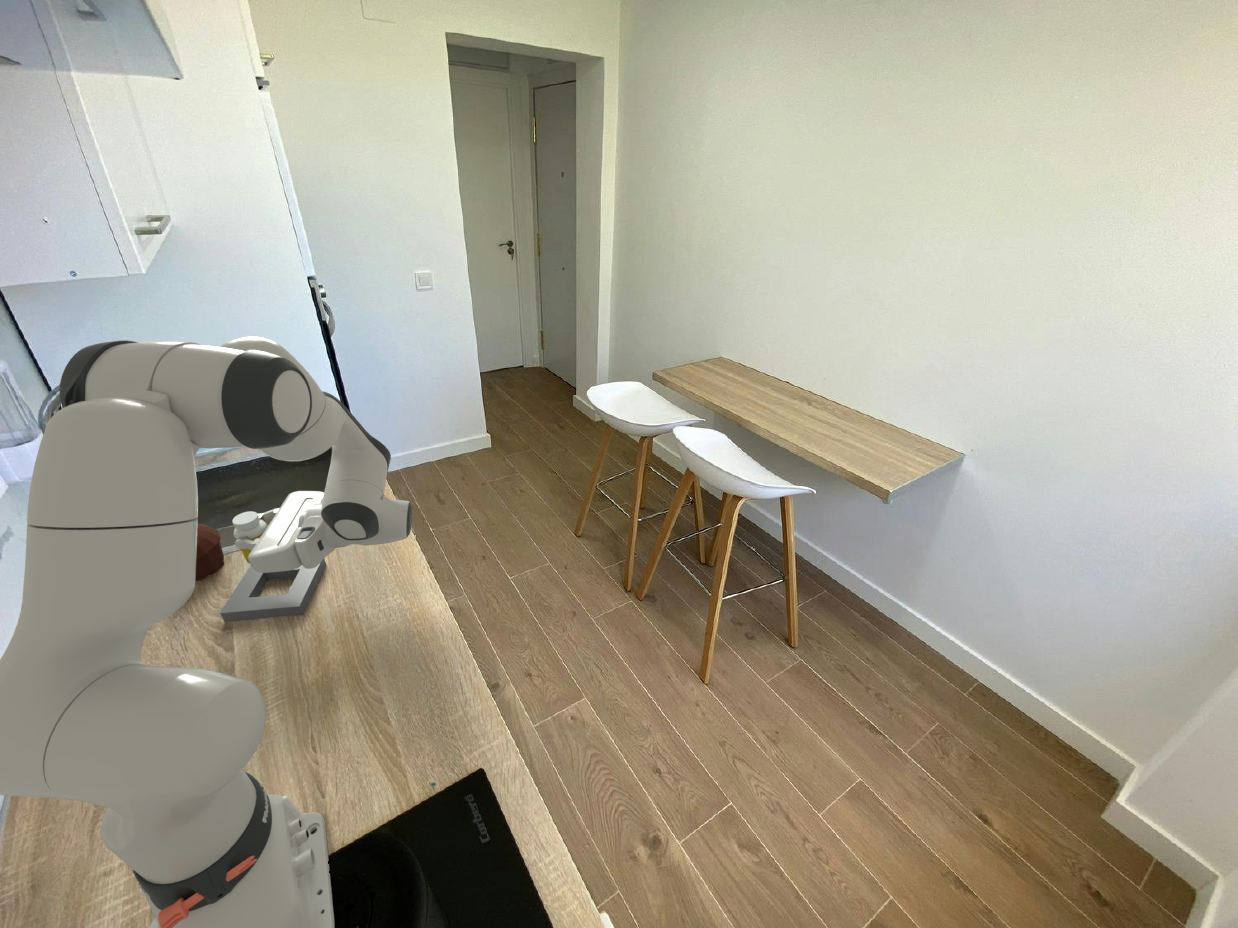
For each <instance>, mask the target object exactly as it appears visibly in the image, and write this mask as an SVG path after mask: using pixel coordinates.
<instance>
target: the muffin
mask: <svg viewBox="0 0 1238 928" xmlns="http://www.w3.org/2000/svg"><path fill="white" fill-rule="evenodd" d="M224 558H225V556H224V552H223V549H222V543H221V534H220V531H219V530H218V529H215V528H213V527H211V526H208V525H206V524H203V523H198V525H197V552H196V575H195V582H198V581H199V582H200V581H203V580H204V579H207V578H208V577H210V576H213V575H216V573H217V572H219V570H220V569H221V568H222V567H223V566H224V565H225V561H224Z"/></svg>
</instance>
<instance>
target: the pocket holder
mask: <svg viewBox="0 0 1238 928" xmlns="http://www.w3.org/2000/svg"><path fill="white" fill-rule="evenodd" d="M326 567H327V562H326V559H325V558H324V559H323V560H322V561H321V562H320V563H319V565H318V566H316V567H315V568H311V569H306V568H304V566H303V564H302V565H301V566H300V567H298V568H296V569H293V570H289V571H281V572H270V573H259V572H257V571H255V570H254V569H253V568H252V566H251V564H249V567H248V569H247V570H246V572H245V573H244V574H243V576H242V578H241V580H240V581H239V582H238V583H237V586H236V587H235V589H234V590H233V592H232V593H231V595H230V597H229V598H228V600H227V601H226V603H225V604H224V606H223V607H222V609H221V610H220V612H219V614H220V616H221V618H222V620H223V622H224V623H229V622H239V621H241V622H242V621H250V620H251V621H252V620H261V619H262V620H263V619H271V618H272V619H274V618H284V617H286V618H287V617H295V616H296V617H298V616H303V615H304V614H305V612H306V610H307V608H308V606H309V604H310V601H311V599H312V597H313V595H314V594H315V593H314V592H315V591H316V589H317V587H318V584H319V582H320V580H321V578H322V576H323V573H324V571H325V569H326ZM292 579H294V580H293V582H292V584H291V586H290V588H289V590H288V592H287V594H277V595H275V594H274V595H265V596H264V595H262V596H260V595H261V593H262V591H263V590H264V588H265V586H266V585H267V583H268V582H270V581H278V580H279V581H280V580H281V581H282V580H292Z"/></svg>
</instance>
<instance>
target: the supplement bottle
mask: <svg viewBox="0 0 1238 928" xmlns="http://www.w3.org/2000/svg"><path fill="white" fill-rule="evenodd" d="M232 524H233V527H234V530H233V537H234V539H235V541H236V540H237V539H238V537H244V536H248V537H249V540H252V541H254V540H255V539H260V537H261V536H262V534H263V533H264V531H265V530H266V528H267V527H268V524H267V522H264V521H262V520H260V518H259V516H258V512H256V511H244V512H241V513H239V514H237V515H235V516H234V517H233V519H232ZM240 551H241V553H242V555H243V557H244V559H245V560H246V562H247V564H249V565H251V564H250V562H249V559H248V556H249V554H250V553H251V550H249V549H240Z"/></svg>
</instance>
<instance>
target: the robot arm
mask: <svg viewBox="0 0 1238 928" xmlns="http://www.w3.org/2000/svg"><path fill="white" fill-rule="evenodd" d="M61 374H62V375H61V376H60V377H61V378H60V382H59V400H60V404H61V409H59V410H58V411H56V412H55V413H54V414H53V415H52V416H51V418H49V420H48V422H47V424H46V426H45V429H44V431H43V435H42V438H41V440H40V444H39V447H38V451H37V454H36V458H35V461H34V466H33V470H32V471H33V472H32V476H31V482H30V486H29V494H28V501H27V502H28V503H27V504H28V505H27V515H26V540H25V541H26V542H25V545H26V546H25V562H24V563H25V564H24V574H23V587H22V588H23V589H22V597H21V598H22V600H21V606H20V611H19V612H20V613H19V617H18V620H17V624H16V626H15V629H14V632H13V635H12V637H11V638H10V640H9V643H8V644H7V646H6V649H5V651H4V653H3V654H2V656H1V658H0V796H9V797H10V796H11V797H27V798H28V797H29V798H45V799H58V800H59V799H60V800H66V801H72V802H80V803H87V804H91V805H94V806H95V805H96V806H99V807H102V808H104V807H105V808H106V810H105V813H104V816H103V819H102V823H101V829H100V831H101V838H102V842H103V844H104V846H105V847H106V848H107V849H108V850H109V851H110V852H112V853H113V854H114V855H115V856H116V857H117V858H118V859H120V860H121V861H122V862H123V863H125V864H126V865H127V866H128V867H130V868H131V869H132V872H133V875H134V877H135V878H136V881H137V883H138V885H139V887H140V889H139V894H140V895H142V896H143V897H144V898H146V900H147V903H148V905H149V907H150V910H151V912H152V914H153V916H154V919H153V920H152V922H151V923H150V925H149V927H148V928H335V913H334V906H333V905H334V904H333V893H332V892H333V891H332V885H331V884H332V882H331V874H330V873H329V871H330V863H329V864H328V861H329V851H328V841H327V832H326V831H327V830H326V820H325V817H324V816H323V815H322V814H321V813H320V812H316V811H314V812H313V811H312V812H302V811H301V810H300V809H299V808H298V806H297V805H296V804H295V803H294V802H293V800H292V799H291V798H290V797H289V796H287V795H283V794H282V795H281V794H274V793H273V794H272V793H267V792H266V790H265V788H264V786H263V784H262V783H261V782H260V781H259V780H258V779H257V778H255V777H254V775H252V774H251V773H249V772H247V771H245V767H246V766H247V765H248V764H249V762H250V761H251V760H252V758H253V756H254V755H255V753H256V751H257V750H258V747H259V746H260V743H261V741H262V739H263V735H264V733H265V732H264V731H265V727H266V721H267V709H266V707H267V706H266V703H265V699H264V696H263V693H262V691H261V689H260V688H259V687H258V686H257V685H256V684H255V683H254V682H251V681H249V680H246V679H243V678H239V677H236V676H234V675H230V674H226V673H223V672H220V671H215V670H212V669H206V668H198V667H197V668H195V667H182V666H181V667H179V666H161V665H160V666H159V665H148V664H147V665H146V664H144V662H143V660H142V647H143V644H144V641H145V637H146V634H147V633H148V630H149V629H150V627H152V626H154V625H156V624H158V623H160V622H161V621H163V620H166V619H168V617H170V616H172V615H173V614H175V613H176V612H178V610H180V609H181V608H182V607H184V605H185V604H186V603H187V602H188V600H190V598H191V597H192V595H193V593H194V590H195V588H196V581H195V575H196V552H197V525H198V524H199V523H198V522H199V521H198V520H199V519H198V516H199V493H198V479H197V478H198V477H197V470H196V462H195V456H196V454H197V452H199V449H230V448H246V447H247V448H248V449H252V450H259V451H260V452H262V453H263V454H265V455H266V456H268V457H270V458H273V459H275V460H279V461H285V462H301V461H306V460H310V459H313V458H316V457H318V456H320V455H322V454H324V453H325V452H327V451H329V449H331V456H330V465H329V470H328V474H327V478H326V484H325V488H324V492H323V491H319V490H318V491H316V490H297V491H292V492H291V493H288V495H287V496H286V498H285V499H284V501H283V502H282V504H281V506H280V507H278V508H273V509H271V510H267V511H265V512H260V513H259V512H257V514H258V516H259V518H260V520H262V521H264V522H265V523H269V524H267V526H268V527H267V528H266V530H265V531H264V533H263V534H262V536H261V537H260V539H255V540H254V541H252V540H249V537H248V536H244V537H238V539H237V540H236V539H235V541H234V543H233V544H234V545H235V547H236V548H237V550H241V549H249V550H251V553H250V554H249V556H248V559H249V562H250V564H249V565H251V566H252V568H253V569H254V570H255V571H257V572H259V573H270V572H281V571H289V570H293V569H296V568H298V567H300V566H301V565H302V564H303V566H304V568H306V569H311V568H315V567H316V566H318V565H319V563H320V562H321V561H322V560H323V559H325V558H326V557H327V556H329V555H330V554H331V553H333V552H334V551H335V550H336V549H339V548H340V549H341V548H345V547H349V546H353V545H357V546H358V545H359V546H376V545H385V544H389V543H395V542H399V541H403V540H406V539H407V538H408V537H409V536H410V534H411V530H412V524H413V508H412V507H413V506H412V504H411V502H410V501H409V500H402V499H390V498H388V497H387V496H386V495H385V490H386V482H387V475H388V472H389V467H390V463H391V460H392V459H391V458H392V455H391V453H390V451H389V449H388V448H387V447H386V445H384V444H383V443H382V442H381V441H380V440H378V439H377V438H375V437H374V436H372V435H371V434H370V433H369V432H368V430H366V429H365V428H364V426H363V425H362V424H361V423H360V421H358V419H357V418H356V417H355V416H354V415H353V414H352V412H351V411H350V410H349V409H348V408H347V406H345V404H344V403H343V402H342V401H341V400H340V399H338V398H337V397H336V396H334V395H333V394H331V393H329V392H327V391H323V390H322V389H321V387H320V386H319V385H318V383H317V382H316V381H315V379H314V378H313V377H312V375H311V374H310V373H309V372H308V370H306V368H305V367H304V366H303V365H302V364H301V363H300V362H299V361H298V360H297V359H296V357H294V356H293V355H292V354H291V353H290V352H289V351H288V350H287V349H286V348H285V347H284V346H282V345H281V344H279V343H278V342H276V341H274V340H271V339H269V338H265V337H260V336H244V337H239V338H236V339H232V340H229V341H226V342H225V343H224V344H222V345H220V346H216V345H215V346H213V345H204V344H200V343H196V342H191V341H189V342H188V341H148V342H147V341H145V342H138V341H134V340H125V339H124V340H123V339H122V340H113V341H105V342H100V343H95V344H91V345H88V346H85V347H83V348H81V349H79V350H78V351H77V352H76V353H75V354H74V355H72V357H71V358H70V359H69V361H68V362H67V364H66V365H65V367H64V370H63V372H62V373H61ZM314 831H315V832H314ZM313 832H314V833H313Z"/></svg>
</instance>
